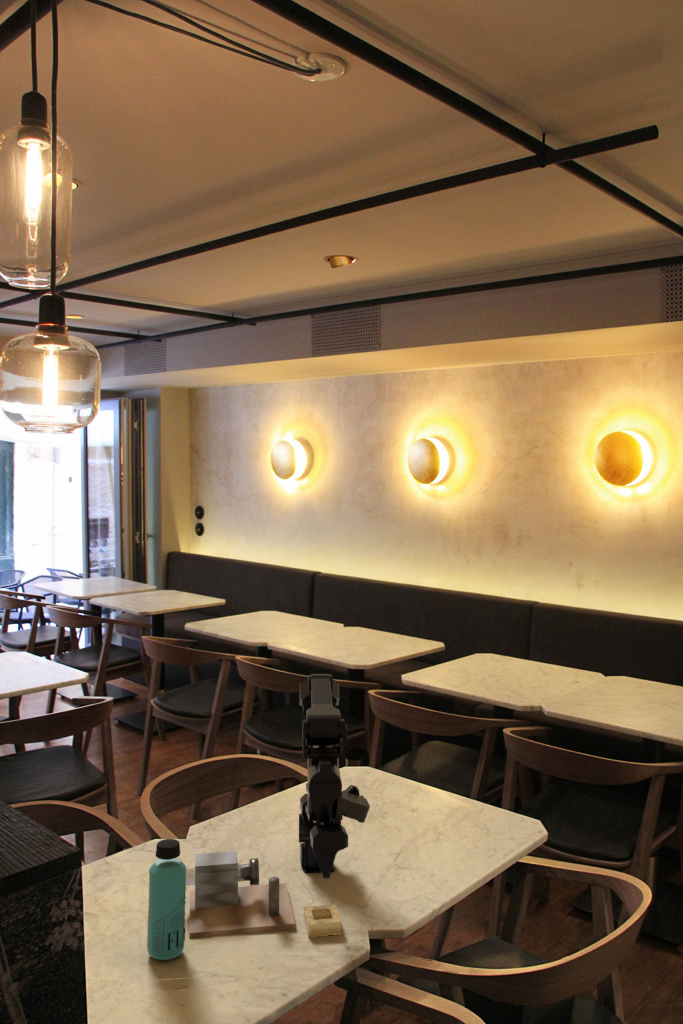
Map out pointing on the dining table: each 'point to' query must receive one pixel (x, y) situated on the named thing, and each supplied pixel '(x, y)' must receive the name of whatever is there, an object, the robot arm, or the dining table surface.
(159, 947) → the beverage bottle
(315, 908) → the frame
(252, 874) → the shaft
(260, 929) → the shaft stand
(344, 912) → the dining table surface
